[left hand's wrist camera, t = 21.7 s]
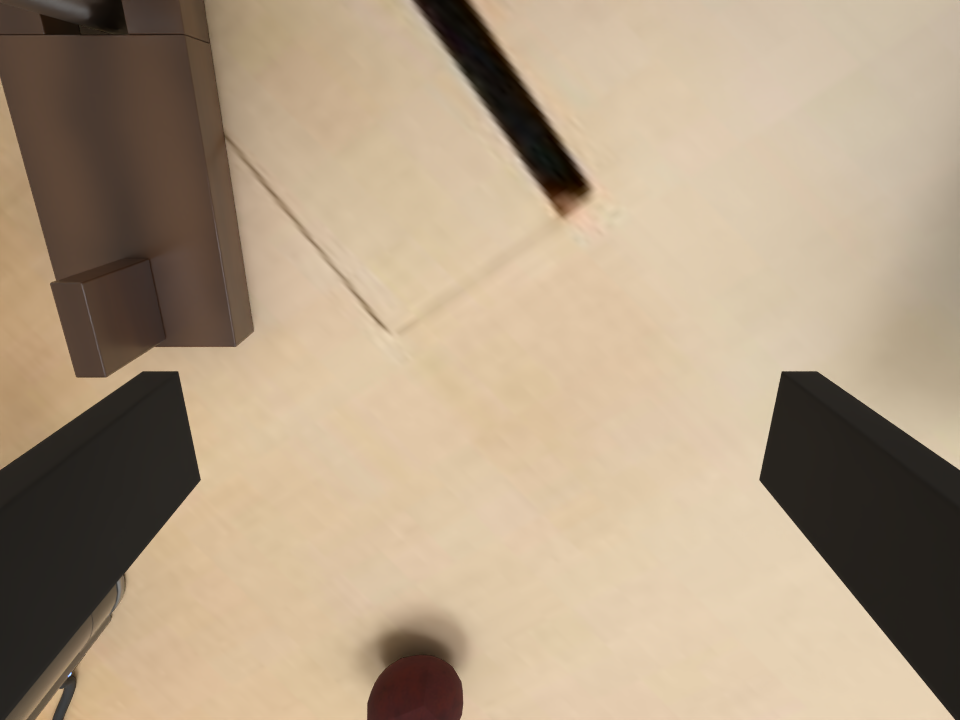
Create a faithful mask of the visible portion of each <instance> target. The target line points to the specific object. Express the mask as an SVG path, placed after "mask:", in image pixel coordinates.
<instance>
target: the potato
mask: <svg viewBox="0 0 960 720" xmlns="http://www.w3.org/2000/svg"><path fill="white" fill-rule="evenodd" d="M462 709H463V690H462V683H461V680H460V678H459V677H458V675H457V673H456V671H455V670H454V668H453V667H452V666H451V665H449V664H448V663H447V662H445V661H444V660H442V659H440V658H437V657H434V656H429V655H415V656H410V657H404V658H401V659H399V660H397V661H396V662H394V663H393V664H391V665H390V666H388V667H387V668H386V669H385V670H384V671H383V672H382V673H381V675H380V676H379V677H378V679H377V681H376V682H375V684H374V686H373V689H372V691H371V694H370V697H369V700H368V703H367V720H460V718H461V716H462Z"/></svg>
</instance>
